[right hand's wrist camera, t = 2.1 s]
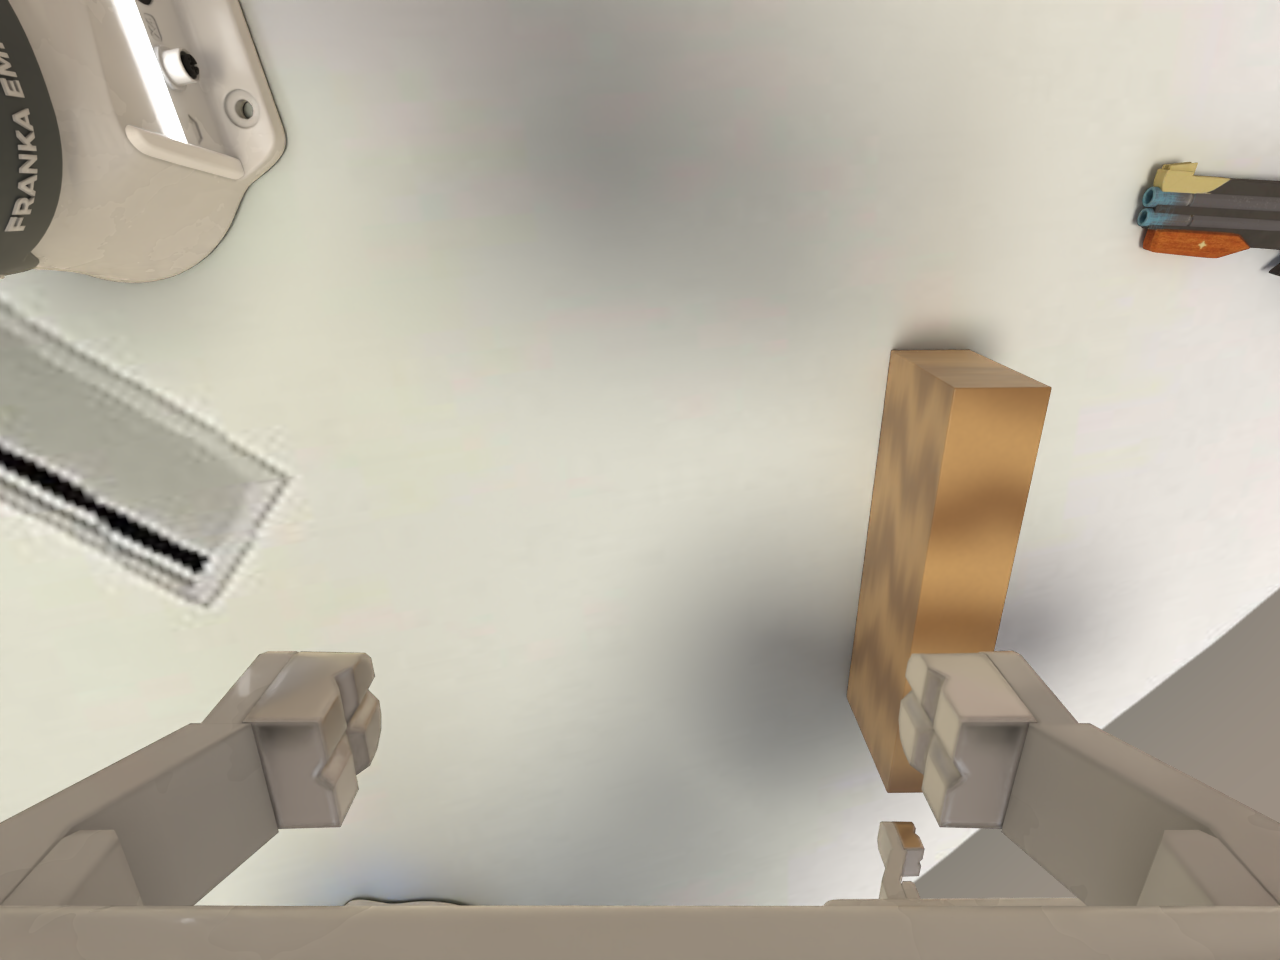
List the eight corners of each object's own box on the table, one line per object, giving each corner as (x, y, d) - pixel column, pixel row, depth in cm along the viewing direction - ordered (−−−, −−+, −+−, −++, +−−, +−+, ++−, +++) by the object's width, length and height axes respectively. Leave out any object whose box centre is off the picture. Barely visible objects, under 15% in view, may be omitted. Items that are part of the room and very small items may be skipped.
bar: (890, 350, 40) (954, 387, 32) (969, 349, 40) (1052, 387, 32) (846, 697, 49) (887, 793, 41) (910, 696, 49) (963, 792, 41)
